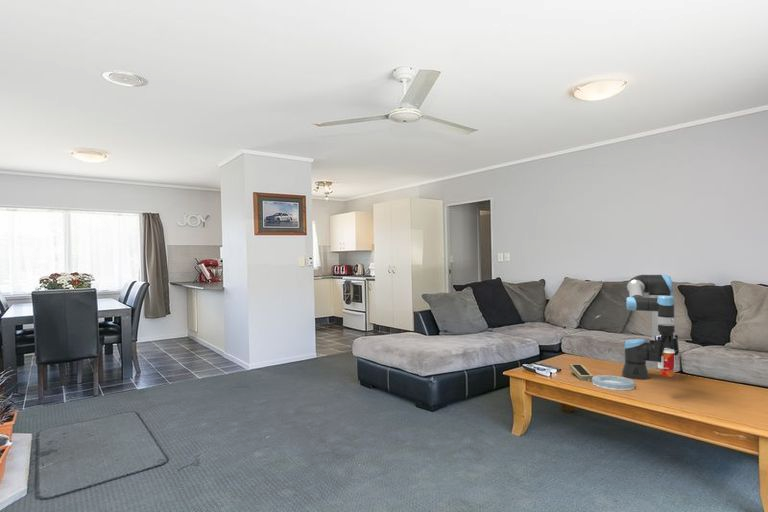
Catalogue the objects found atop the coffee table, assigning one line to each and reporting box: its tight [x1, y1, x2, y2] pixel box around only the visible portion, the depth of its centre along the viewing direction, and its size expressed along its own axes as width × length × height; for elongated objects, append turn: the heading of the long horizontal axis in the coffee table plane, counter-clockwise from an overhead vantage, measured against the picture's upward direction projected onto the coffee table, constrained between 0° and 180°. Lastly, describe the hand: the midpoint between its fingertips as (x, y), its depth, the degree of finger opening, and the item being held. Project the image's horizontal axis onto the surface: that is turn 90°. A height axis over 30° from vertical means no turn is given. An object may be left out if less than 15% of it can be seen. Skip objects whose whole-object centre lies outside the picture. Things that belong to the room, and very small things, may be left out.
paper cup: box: [659, 348, 675, 378], centre depth 233 cm, size 8×8×14 cm
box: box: [568, 363, 594, 383], centre depth 275 cm, size 8×22×5 cm, turn 179°
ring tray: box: [591, 374, 636, 391], centre depth 257 cm, size 22×22×3 cm
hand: (666, 367), depth 233 cm, fingers closed on paper cup, 8 cm apart
